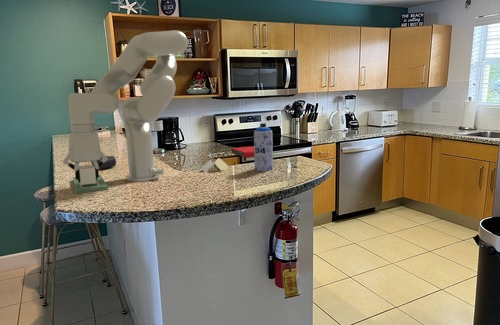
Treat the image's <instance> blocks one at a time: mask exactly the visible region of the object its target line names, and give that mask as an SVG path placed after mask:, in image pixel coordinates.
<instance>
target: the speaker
mask: <svg viewBox="0 0 500 325" xmlns="http://www.w3.org/2000/svg"><path fill="white" fill-rule="evenodd" d="M105 156H106V157H107V158H108V160H107V161H106V162H104V163H103V164H102V165H101V166H100V168H99V169H98V170H104V169H109V168H114V167H116V166H117V159H116V157H115V156H114V155H105ZM101 160H102V157H101V159H100V160H98V161H97V163H98V162H99V161H101ZM91 165H93V166H94V164H93V161H91ZM94 167H95V166H94Z"/></svg>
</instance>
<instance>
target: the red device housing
mask: <svg viewBox="0 0 500 325" xmlns="http://www.w3.org/2000/svg"><path fill="white" fill-rule="evenodd" d="M230 150H231V151H230V152H231V154H234V155H236V156H239V157H240V158H244V159H247V158H249V159H250V158H255V156H254V145H253V146H241V147H232V148H231V149H230Z"/></svg>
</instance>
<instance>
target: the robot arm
mask: <svg viewBox="0 0 500 325" xmlns="http://www.w3.org/2000/svg"><path fill="white" fill-rule="evenodd" d="M188 46H189V41H188V37H187V36H186V35H185V33H184V32H182V31H181V30H177V29H176V30H174V29H173V30H164V31H163V30H162V31H161V30H160V31H151V32H150V31H148V32H142V33H140V34H138V35H134V36H133V37H132V38H131V39H130V40H129V41H128V42H127V44H126V46H124V49H123V51H122V52H121V53H120V55H119V56H118V58H117V59H116V61H115V62H114V64H112V66H111V67H110V68H109V69H108V70H107V71H106V72H105V73H104V74H103V76H102V77H101V78H100V79H99V80H98V82H96V84H95V85H94V87H93V88H92V90H91V91H90V93H87V92H73V93H70V94H69V95H68V111H69V122H70V131H71V133H69V134H68V145H67V146H68V154H67V155H66V156H65V157H64V159H63V160H62V163H63V165H66V166H68V167H69V168H70V169H72V170H73V171H74V175H75V177H76V180H78V182H80V172H79V168H78V167H79V166H80V163H88V162H91V161H93V164H94V166H95V175H96V181H97V178H99V174H100V172H99V170H100V169H99V168H100V166H101V165H102V164H103V163H104V162H106V161H107V160H108V158H107V157H106V156H107V155H106V154H104V152H102V150H101V144H100V143H101V142H100V138H99V134H98V132H96V131H97V130H100V124H99V125H97V124H95V116H94V115H95V114H97V115H109V114H110V115H111V114H113V113H115V111H117V109H118V107H119V100H118V98H117V97H116V96H115V95H116V93H117V92H118V91H120V90H121V89H122V88H123V87H125V86H127V85H128V84H130V83H131V82H132V81H134V80H135V79H136V77H137V76H138V74H140V71H141V69H142V68H143V66H144V65H145V63H146V62H147V60H148V59H149V58H152V57H156V61H155V64H154V65H153V67H152V68H151V70H150V71H149V73H148V74H147V75H146V76H145V77H144V79H143V80H142V81H141V84H140V87H139V91H140V94H141V95H142V96H133V97H129V98H128V99H126V100H125V101H124V102H123V104H122V106H121V115H122V120H123V123H124V129H125V138H126V140H125V142H126V151H127V161H128V175H126V176H124V178H125V181H127V182H132V183H133V182H136V183H137V182H139V183H140V182H147V181H153V180H157V179H158V178H159V177H160V175H164V174H165V170H164V168H158V166H157V165H155V162H154V161H155V160H154V147H153V134H152V133H153V132H152V127H151V125H150V123H153V122H155V121H157V120H158V119H159V118H160V117H161V115H162V114H163V113H164V111H165V110H166V109H167V107H168V106H169V104H170V102H171V101H172V99H173V98H174V96H175V95H176V94H175V93H176V83H175V80H174V77H175V75H176V73H177V69H178V64H177V58H176V55H179V54H182V53H184V52H185V51H187V49H188ZM101 157H102V160H101V161H99V162H98V163H97V161H98V160H100V159H101ZM73 163H74V164H73ZM91 163H92V162H91Z"/></svg>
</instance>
